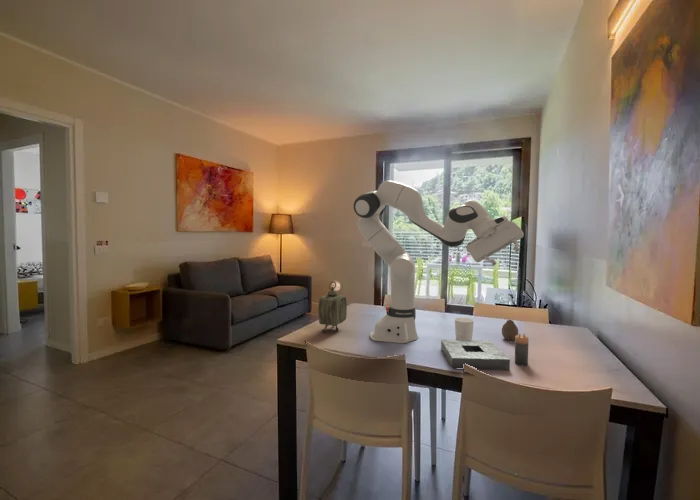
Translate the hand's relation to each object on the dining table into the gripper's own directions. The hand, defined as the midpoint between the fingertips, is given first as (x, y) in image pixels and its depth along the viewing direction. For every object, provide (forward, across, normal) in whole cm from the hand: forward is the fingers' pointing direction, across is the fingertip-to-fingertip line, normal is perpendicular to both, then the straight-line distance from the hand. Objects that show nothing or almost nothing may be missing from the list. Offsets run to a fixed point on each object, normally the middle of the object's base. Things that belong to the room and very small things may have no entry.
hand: (506, 257), depth 120 cm
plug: (+31, -17, +20) cm, 40 cm away
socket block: (+24, -31, +13) cm, 41 cm away
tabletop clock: (-15, -86, +6) cm, 88 cm away
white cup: (+12, -35, +29) cm, 46 cm away
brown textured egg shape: (+15, -18, +44) cm, 50 cm away
